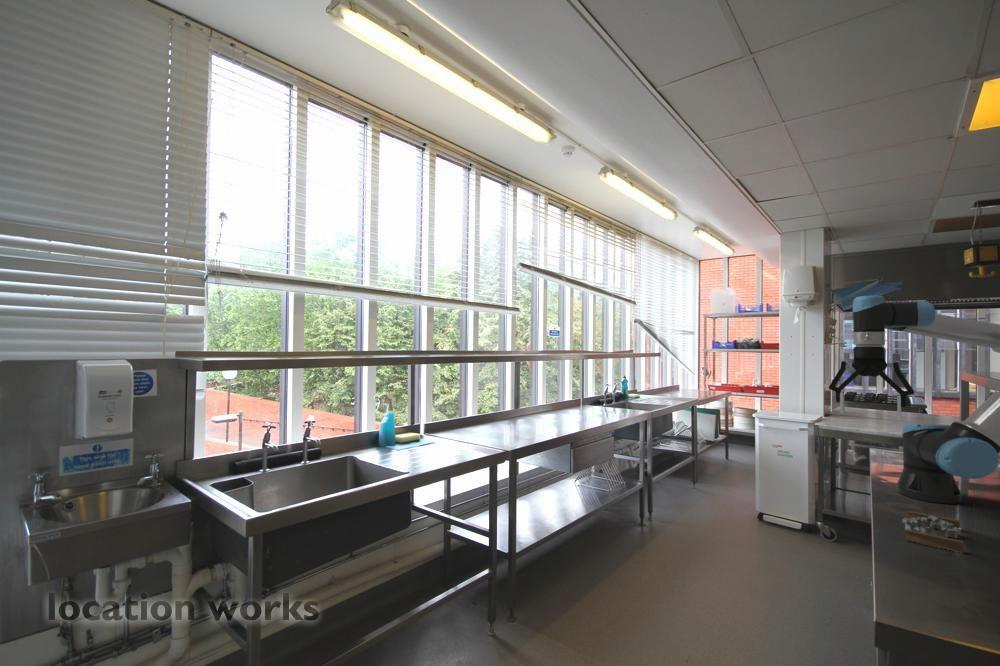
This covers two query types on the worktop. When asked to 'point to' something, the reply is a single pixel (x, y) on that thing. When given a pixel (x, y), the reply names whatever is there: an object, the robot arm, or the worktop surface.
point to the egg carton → (931, 526)
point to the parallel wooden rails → (933, 539)
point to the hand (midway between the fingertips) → (870, 415)
